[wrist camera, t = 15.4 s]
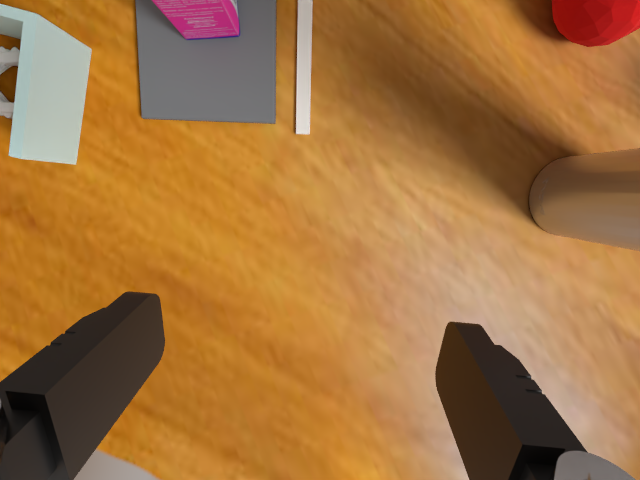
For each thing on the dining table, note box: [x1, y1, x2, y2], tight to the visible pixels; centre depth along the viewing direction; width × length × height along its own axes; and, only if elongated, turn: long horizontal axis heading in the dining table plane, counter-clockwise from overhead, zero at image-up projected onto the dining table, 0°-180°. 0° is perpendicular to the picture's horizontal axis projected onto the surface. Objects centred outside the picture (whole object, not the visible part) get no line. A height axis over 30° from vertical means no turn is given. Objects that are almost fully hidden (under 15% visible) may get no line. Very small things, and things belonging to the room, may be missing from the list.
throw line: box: [296, 0, 313, 134], centre depth 34 cm, size 2×26×1 cm, turn 178°
